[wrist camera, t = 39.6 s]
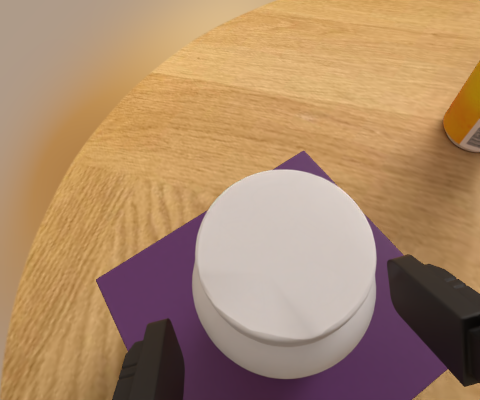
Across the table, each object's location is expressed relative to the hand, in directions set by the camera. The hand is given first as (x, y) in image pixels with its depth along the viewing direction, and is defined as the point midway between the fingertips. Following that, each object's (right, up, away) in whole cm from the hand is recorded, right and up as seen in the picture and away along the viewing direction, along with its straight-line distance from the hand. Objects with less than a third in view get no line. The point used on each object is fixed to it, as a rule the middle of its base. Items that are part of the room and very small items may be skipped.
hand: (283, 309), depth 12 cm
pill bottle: (+1, -2, +6) cm, 7 cm away
